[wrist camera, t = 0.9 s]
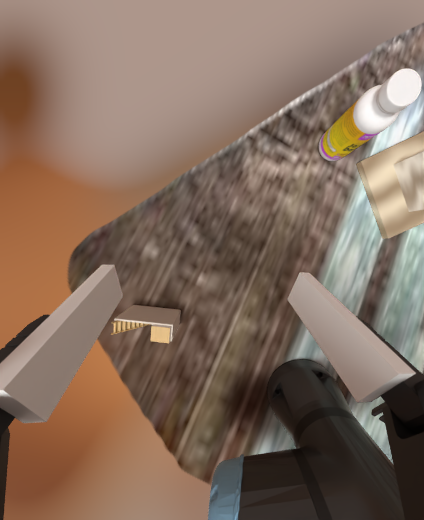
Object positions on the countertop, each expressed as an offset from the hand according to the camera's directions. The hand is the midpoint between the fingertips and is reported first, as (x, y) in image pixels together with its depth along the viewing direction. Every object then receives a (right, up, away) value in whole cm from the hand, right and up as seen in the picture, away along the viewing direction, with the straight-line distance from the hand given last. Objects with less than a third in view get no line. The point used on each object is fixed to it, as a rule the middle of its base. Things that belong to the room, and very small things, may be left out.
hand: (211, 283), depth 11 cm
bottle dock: (+41, +18, +19) cm, 48 cm away
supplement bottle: (+24, +24, +19) cm, 38 cm away
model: (-12, -10, +23) cm, 28 cm away
